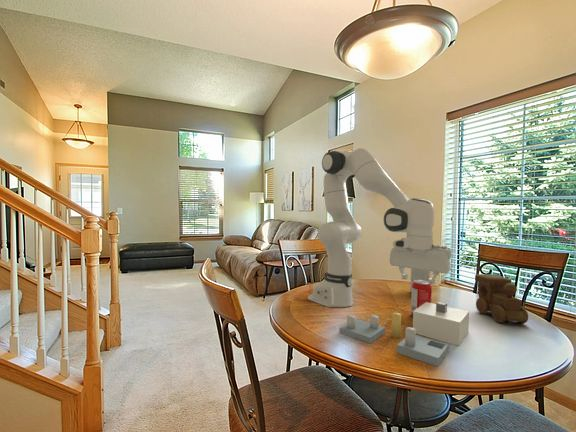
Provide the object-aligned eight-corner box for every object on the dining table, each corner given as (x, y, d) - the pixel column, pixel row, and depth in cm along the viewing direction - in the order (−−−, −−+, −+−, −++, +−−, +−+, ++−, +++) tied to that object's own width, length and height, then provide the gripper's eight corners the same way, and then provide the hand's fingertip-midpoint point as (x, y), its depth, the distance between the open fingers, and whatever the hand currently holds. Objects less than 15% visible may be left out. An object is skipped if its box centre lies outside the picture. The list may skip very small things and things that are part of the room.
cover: (412, 332, 110) (413, 303, 109) (425, 321, 121) (426, 294, 121) (459, 346, 100) (460, 313, 99) (468, 332, 111) (469, 303, 111)
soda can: (407, 316, 126) (409, 281, 126) (414, 312, 132) (415, 278, 132) (427, 321, 121) (428, 285, 121) (433, 316, 127) (434, 281, 126)
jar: (433, 296, 157) (434, 262, 157) (414, 295, 157) (415, 261, 157) (424, 291, 167) (426, 259, 167) (407, 290, 167) (408, 258, 167)
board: (339, 332, 108) (339, 316, 108) (355, 323, 117) (356, 308, 117) (370, 343, 100) (370, 325, 100) (385, 332, 109) (385, 316, 109)
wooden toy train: (471, 309, 138) (473, 273, 137) (496, 310, 138) (497, 274, 137) (503, 326, 118) (504, 285, 117) (531, 327, 118) (533, 285, 117)
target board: (396, 352, 94) (397, 329, 94) (410, 340, 103) (411, 319, 103) (437, 366, 86) (438, 341, 86) (448, 352, 95) (449, 328, 95)
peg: (390, 336, 106) (390, 313, 106) (393, 333, 108) (394, 311, 108) (398, 338, 104) (399, 316, 104) (401, 336, 106) (402, 314, 106)
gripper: (453, 245, 103) (451, 285, 103) (394, 240, 116) (393, 275, 117) (449, 247, 98) (447, 288, 99) (388, 241, 111) (387, 278, 112)
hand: (417, 281), depth 108 cm, fingers open, 8 cm apart
